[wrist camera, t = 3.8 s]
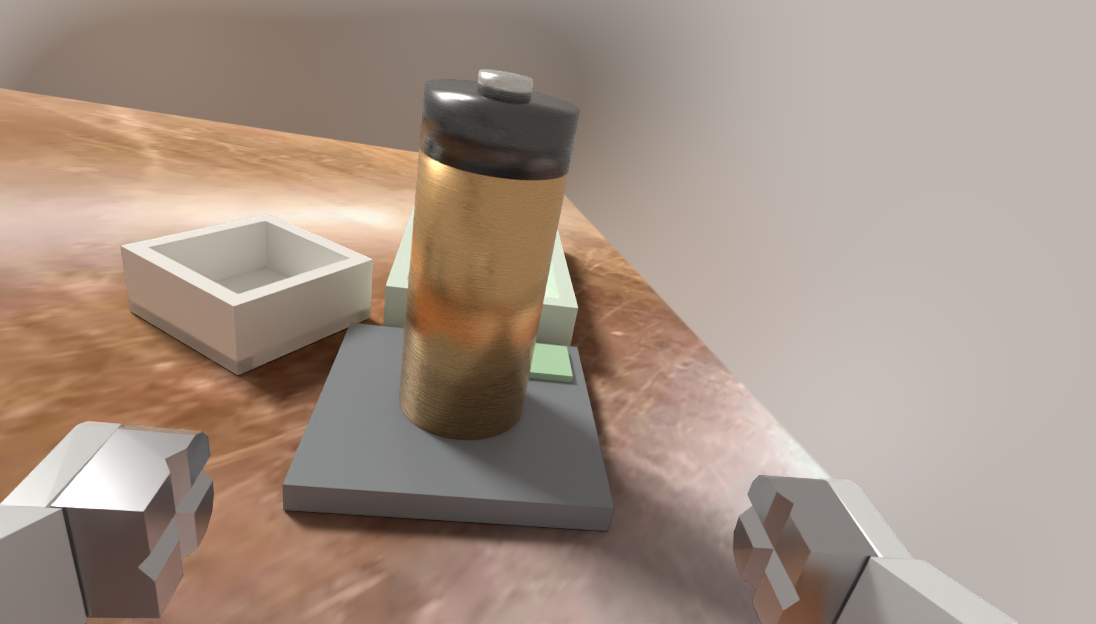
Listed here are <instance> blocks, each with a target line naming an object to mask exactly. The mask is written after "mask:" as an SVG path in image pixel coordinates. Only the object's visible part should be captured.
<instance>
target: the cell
mask: <svg viewBox="0 0 1096 624" xmlns="http://www.w3.org/2000/svg"><path fill="white" fill-rule="evenodd" d="M533 81H534V80H533V79H531V78H529V77H526V76H523V75H519V74H515V73H509V72H504V71H498V70H487V69H483V70H479V76H478V81H470V80H456V79H439V80H431V81H428V82H426V83H425V86H424V98H423V112H422V123H421V135H420V147H419V159H418V171H417V183H416V195H415V207H414V219H413V231H412V244H411V256H410V268H409V280H408V292H407V304H406V316H405V328H404V340H403V352H402V364H401V377H400V389H399V405H400V408H401V410H402V412H403V413H404V415H405V416H406V417H407V418H408V419H409V420H410V421H411V422H412V423H413V424H414V425H416V426H418V427H419V428H421V429H423V430H425V431H427V432H429V433H431V434H434V435H437V436H440V437H444V438H449V439H456V440H481V439H487V438H491V437H495V436H497V435H500V434H502V433H504V432H506V431H508V430H509V429H511V428H512V427H513V426H515V425H516V424H517V422H518V421H519V420H520V418H521V415H522V412H523V406H524V401H525V396H526V391H527V385H528V380H529V375H530V370H531V365H532V359H533V354H534V349H535V344H536V338H537V333H538V328H539V323H540V317H541V312H542V307H543V302H544V297H545V291H546V286H547V281H548V276H549V270H550V265H551V260H552V255H553V249H554V244H555V239H556V234H557V229H558V223H559V218H560V213H561V208H562V202H563V197H564V192H565V186H566V181H567V176H568V171H569V166H570V161H571V155H572V150H573V145H574V139H575V134H576V129H577V123H578V119H579V113H580V110H579V108H578V107H576V106H575V105H573V104H571V103H569V102H566V101H564V100H561V99H559V98H556V97H552V96H549V95H546V94H542V93H538V92H534V91H532V87H533Z"/></svg>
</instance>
